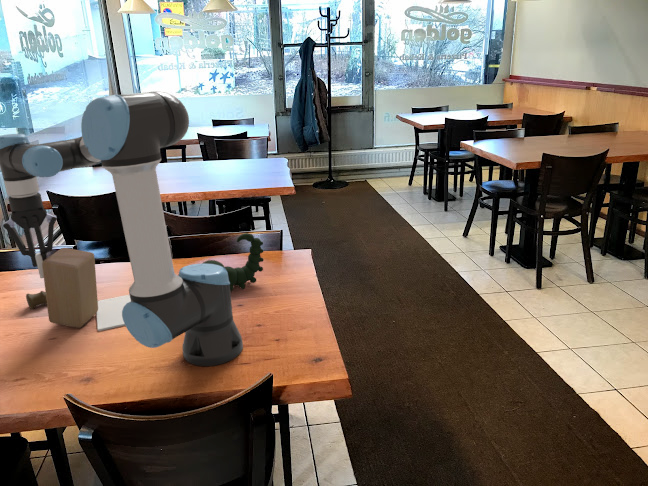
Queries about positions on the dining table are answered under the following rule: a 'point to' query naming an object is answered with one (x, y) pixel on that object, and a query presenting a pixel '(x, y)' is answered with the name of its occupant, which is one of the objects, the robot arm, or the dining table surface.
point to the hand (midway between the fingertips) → (43, 276)
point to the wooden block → (70, 287)
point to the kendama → (36, 299)
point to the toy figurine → (248, 271)
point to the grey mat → (111, 312)
